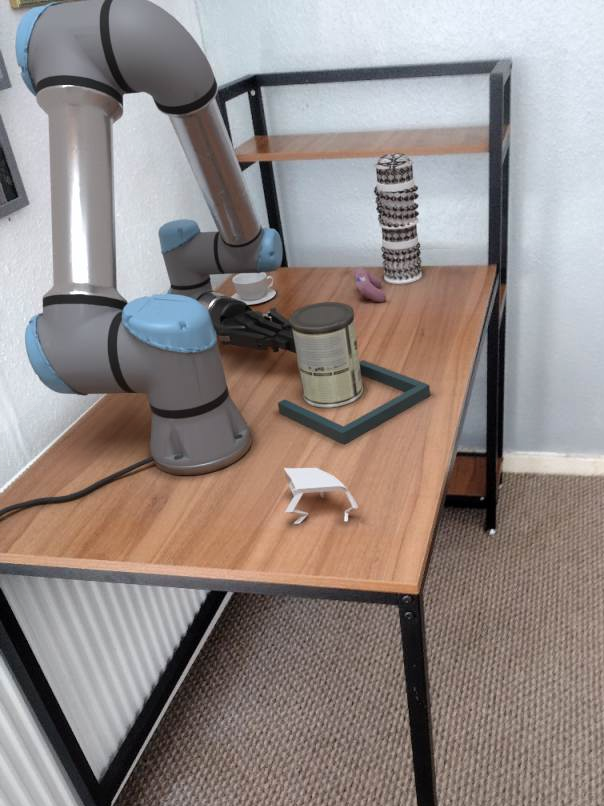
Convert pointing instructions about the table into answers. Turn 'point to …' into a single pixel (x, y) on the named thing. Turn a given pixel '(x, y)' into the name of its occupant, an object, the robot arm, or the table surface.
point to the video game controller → (368, 285)
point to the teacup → (253, 288)
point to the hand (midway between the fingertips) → (306, 347)
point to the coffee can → (327, 354)
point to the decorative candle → (398, 218)
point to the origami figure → (313, 487)
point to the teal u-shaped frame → (345, 434)
